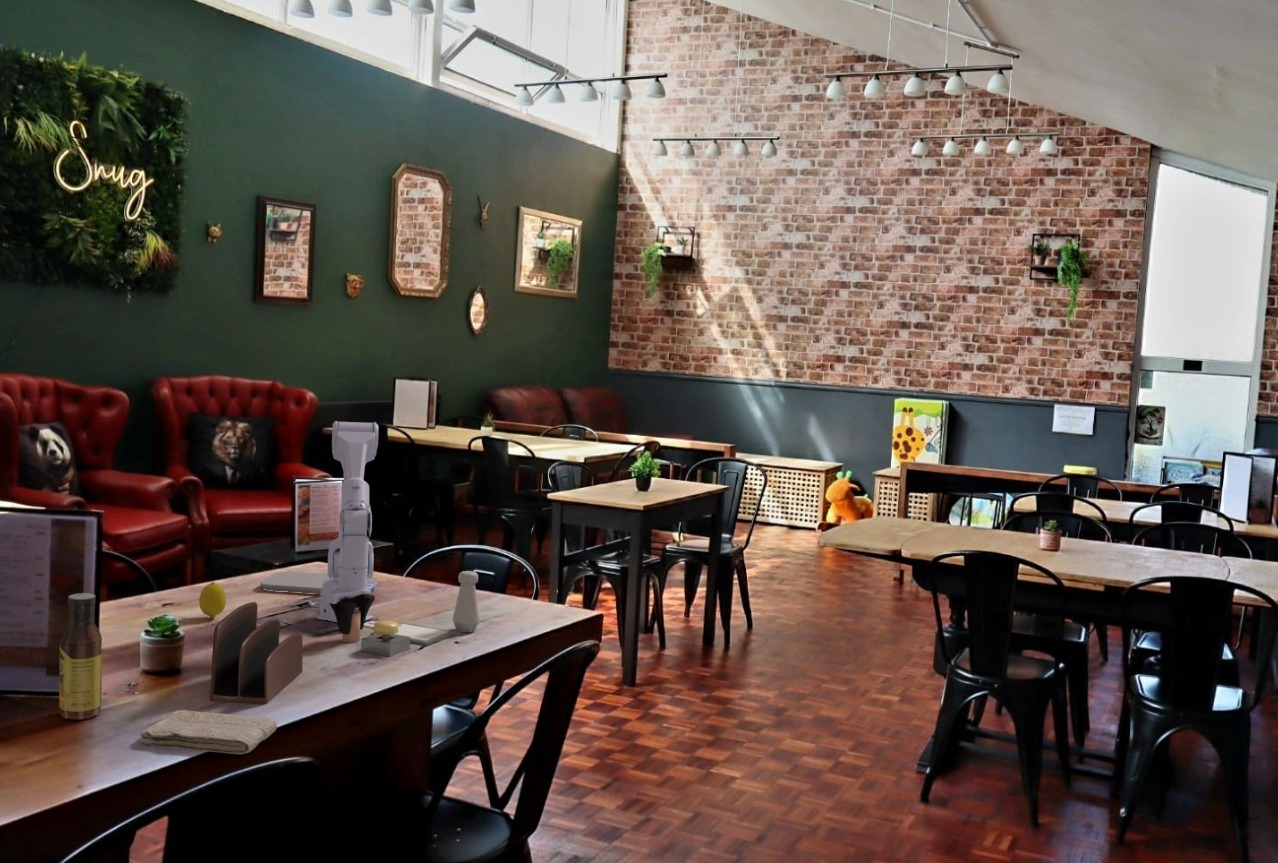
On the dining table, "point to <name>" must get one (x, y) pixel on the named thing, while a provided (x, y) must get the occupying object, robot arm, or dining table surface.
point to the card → (369, 624)
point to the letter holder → (252, 658)
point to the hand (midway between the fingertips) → (351, 631)
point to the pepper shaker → (353, 628)
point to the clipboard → (422, 633)
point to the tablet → (298, 582)
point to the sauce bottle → (80, 661)
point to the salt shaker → (466, 603)
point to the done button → (386, 628)
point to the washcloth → (209, 732)
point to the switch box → (385, 644)
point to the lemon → (212, 600)
